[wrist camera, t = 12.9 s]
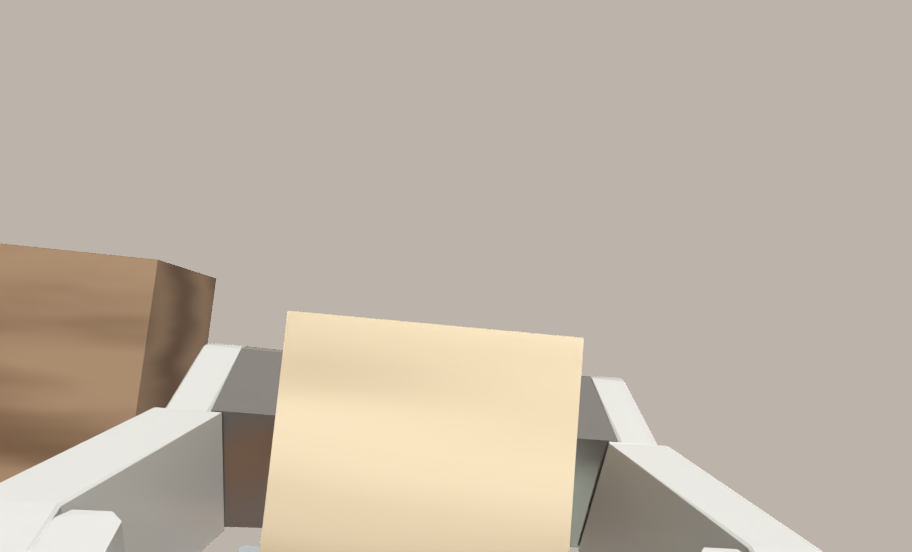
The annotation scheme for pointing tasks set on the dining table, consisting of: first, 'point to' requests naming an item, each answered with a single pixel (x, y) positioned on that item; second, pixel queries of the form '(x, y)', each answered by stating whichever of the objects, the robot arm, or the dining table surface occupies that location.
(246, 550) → the grey-blue block
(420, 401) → the beech rod
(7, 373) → the walnut stand
